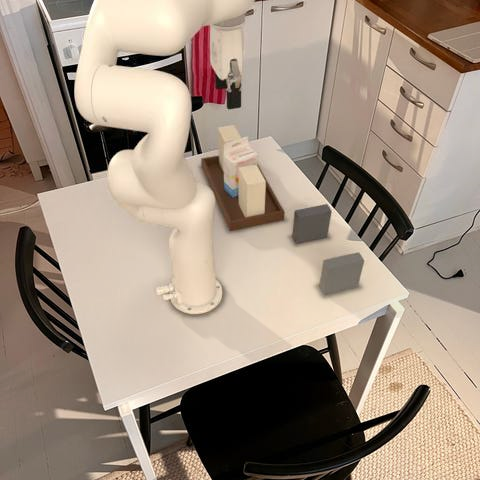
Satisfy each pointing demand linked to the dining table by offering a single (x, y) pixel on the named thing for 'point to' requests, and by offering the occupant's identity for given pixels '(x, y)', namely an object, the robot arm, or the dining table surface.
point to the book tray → (231, 204)
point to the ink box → (236, 163)
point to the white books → (244, 177)
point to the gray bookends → (334, 269)
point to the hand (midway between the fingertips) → (227, 98)
